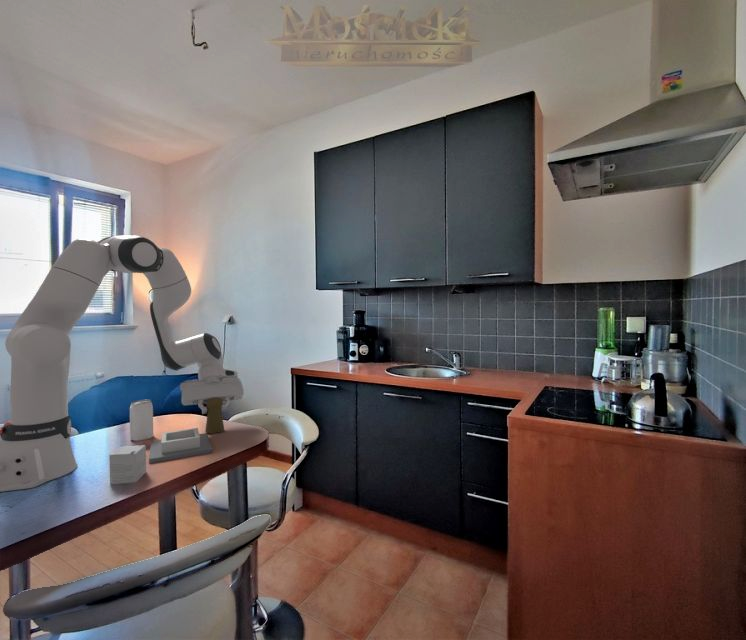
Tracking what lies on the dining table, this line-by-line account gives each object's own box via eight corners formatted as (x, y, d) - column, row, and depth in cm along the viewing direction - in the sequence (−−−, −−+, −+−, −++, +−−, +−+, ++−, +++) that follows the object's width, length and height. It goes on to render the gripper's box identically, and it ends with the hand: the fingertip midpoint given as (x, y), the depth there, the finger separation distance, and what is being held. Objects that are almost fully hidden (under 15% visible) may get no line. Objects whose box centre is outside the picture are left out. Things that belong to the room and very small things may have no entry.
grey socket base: (148, 463, 104) (148, 448, 104) (151, 444, 118) (151, 431, 118) (211, 452, 112) (211, 438, 111) (207, 436, 126) (207, 423, 125)
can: (128, 437, 125) (127, 401, 124) (150, 433, 129) (150, 398, 129) (132, 442, 120) (131, 405, 120) (155, 438, 124) (154, 401, 124)
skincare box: (121, 474, 97) (120, 445, 97) (147, 472, 99) (146, 444, 98) (109, 485, 91) (108, 454, 91) (136, 482, 93) (136, 453, 92)
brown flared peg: (227, 427, 133) (227, 396, 133) (218, 433, 127) (218, 400, 127) (211, 427, 134) (210, 396, 133) (201, 432, 128) (201, 400, 127)
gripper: (179, 375, 131) (181, 410, 123) (241, 371, 141) (246, 403, 132) (179, 386, 135) (180, 420, 127) (239, 381, 145) (244, 412, 136)
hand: (214, 411), depth 130 cm, fingers closed on brown flared peg, 5 cm apart
